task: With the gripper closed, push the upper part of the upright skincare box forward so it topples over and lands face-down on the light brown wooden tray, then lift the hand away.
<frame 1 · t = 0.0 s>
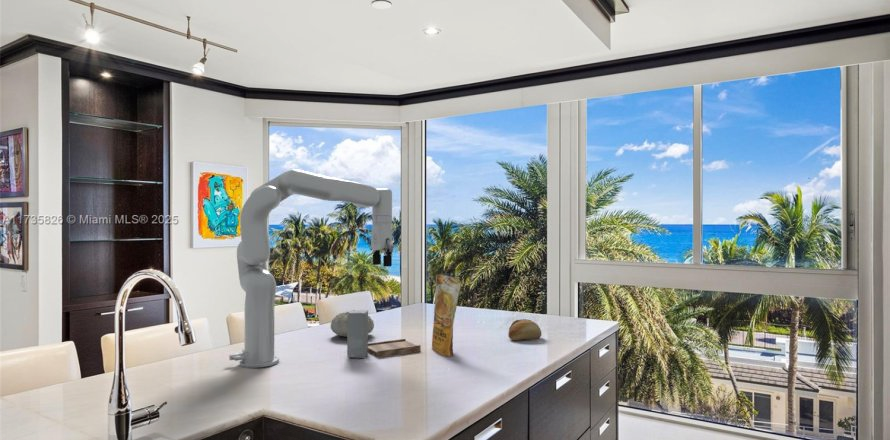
hand: (382, 265, 200), 31 cm above the counter, tool pointing down, fingers open, 9 cm apart
pancake mix bag: (444, 352, 193), on the counter
light brown wooden tray: (392, 350, 194), on the counter
skincare box: (356, 355, 187), on the counter
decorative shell: (352, 337, 218), on the counter
bread roll: (524, 339, 214), on the counter
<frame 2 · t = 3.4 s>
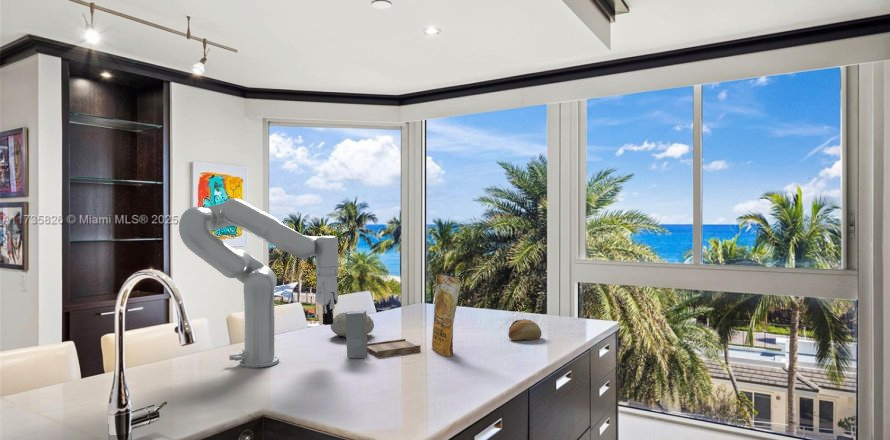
hand: (327, 324, 181), 12 cm above the counter, tool pointing down, fingers closed
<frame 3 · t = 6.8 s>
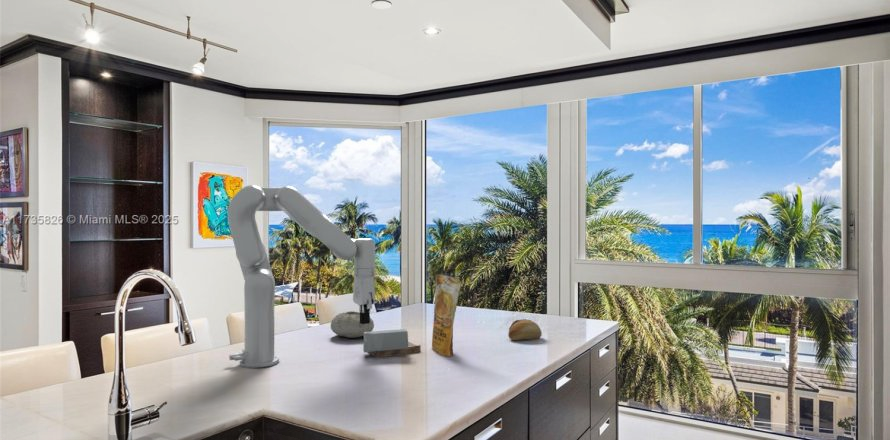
hand: (364, 323, 188), 11 cm above the counter, tool pointing down, fingers closed
skincare box: (362, 340, 187), point 5 cm above the counter, touching light brown wooden tray
everything else where it was.
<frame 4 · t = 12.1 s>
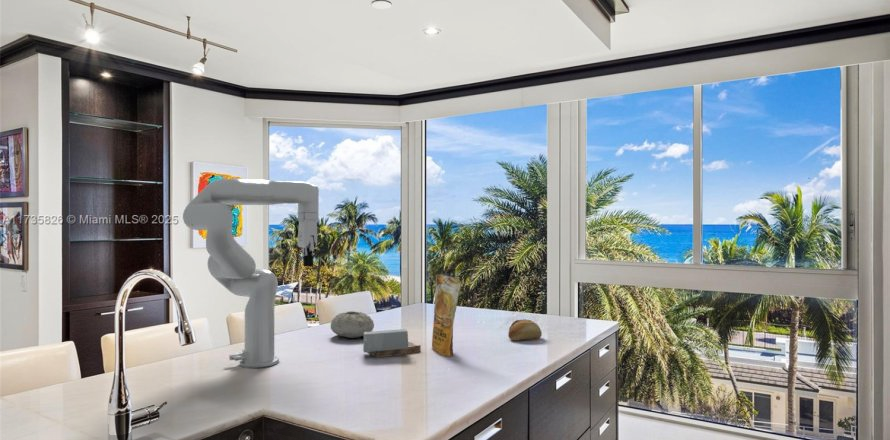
hand: (308, 266, 197), 31 cm above the counter, tool pointing down, fingers closed
nothing on the counter moved.
at the end: skincare box tilted 90°; skincare box inside the target area (10.2 cm from its centre), point 5.3 cm above the counter; the gripper is holding nothing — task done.
